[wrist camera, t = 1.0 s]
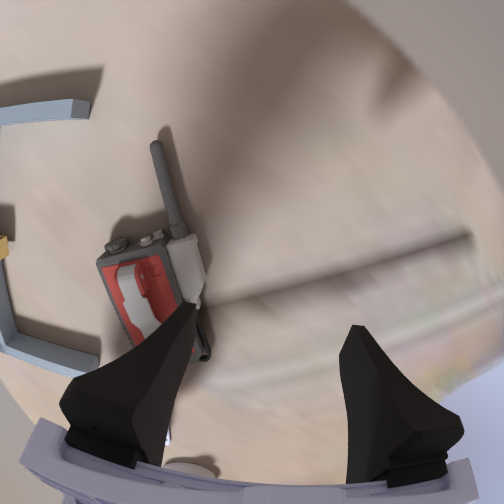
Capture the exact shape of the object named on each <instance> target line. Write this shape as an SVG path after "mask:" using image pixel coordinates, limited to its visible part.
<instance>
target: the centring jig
mask: <svg viewBox="0 0 504 504" xmlns="http://www.w3.org/2000/svg"><path fill="white" fill-rule="evenodd" d="M90 104H91V102H89V101H84V100H78V99H63V100H53V101H44V102H36V103H28V104H21V105H15V106H9V107H3V108H0V126H3V125H11V124H20V123H30V122H41V121H55V120H75V119H89V112H90ZM0 351H1V352H2V353H5V354H7V355H10V356H12V357H14V358H17V359H19V360H22V361H25V362H27V363H30V364H33V365H35V366H38V367H41V368H44V369H46V370H49V371H52V372H55V373H58V374H61V375H65V376H68V377H71V378H74V377H77V376H80V375H83V374H86V373H88V372H91V371H94V370H96V369H98V368H99V360H98V356H96V355H92V354H88V353H84V352H80V351H77V350H73V349H69V348H66V347H62V346H59V345H56V344H52V343H49V342H46V341H43V340H40V339H36V338H33V337H30V336H27V335H24V334H22V333H19V332H18V331H17V328H16V324H15V321H14V317H13V313H12V309H11V305H10V301H9V296H8V292H7V287H6V282H5V277H4V271H3V266H2V260H0Z"/></svg>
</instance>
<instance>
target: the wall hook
mask: <svg viewBox="0 0 504 504" xmlns="http://www.w3.org/2000/svg"><path fill="white" fill-rule="evenodd" d="M163 468H166V469H170V470H175V471H179V472H184V473H189V474H194V475H199V476H205V477H211V478H216V477H215V474H214V473H213V472H212V471H210V470H209V469H207V468H204V467H202V466H199V465H195V464H190V463H169V464H166V465H165V466H163Z"/></svg>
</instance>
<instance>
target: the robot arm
mask: <svg viewBox="0 0 504 504" xmlns="http://www.w3.org/2000/svg"><path fill="white" fill-rule="evenodd" d="M196 305H197V304H196V303H190V302H184V301H183V302H182V303H181V304H180V305H179V306H178V307H177V308H176V309H175V311H174V312H173V313H172V314H171V315H170V316H169V317H168V318H167V319H166V320H165V321H164V322H163V323H162V324H161V325H160V326H159V327H158V328H157V329H156V330H155V331H154V332H153V333H151V334H150V335H149V336H148V337H147V338H146V339H145V340H143V341H142V342H141V343H140V344H138V345H137V346H136V347H134V348H133V349H131V350H130V351H129V352H127V353H125V354H124V355H122V356H121V357H119V358H118V359H116V360H114V361H112V362H110V363H108V364H106V365H104V366H102V367H100V368H98V369H96V370H94V371H91V372H88V373H86V374H83V375H80V376H77V377H74V378H73V380H72V381H71V383H70V384H69V385H68V387H67V389H66V390H65V392H64V394H63V396H62V398H61V400H60V402H59V406H60V408H61V410H62V412H63V414H64V415H65V417H66V419H67V420H68V422H69V423H70V425H71V426H70V428H69V431H67V430H66V429H64V428H63V427H61V426H59V425H57V424H55V423H53V422H51V421H48V420H46V419H44V418H40V419H39V421H38V422H37V424H36V426H35V428H34V430H33V432H32V434H31V436H30V438H29V440H28V443H27V444H26V446H25V448H24V450H23V453H22V455H21V457H20V459H19V462H20V463H21V464H22V465H23V466H24V467H25V468H27V469H28V470H29V471H30V472H31V473H33V474H34V475H35V476H36V477H37V478H39V479H40V480H41V481H42V482H44V483H46V484H48V485H49V486H51V487H53V488H55V489H57V490H60V491H61V492H63V494H64V496H63V499H62V502H61V504H471V503H473V502H475V501H476V500H478V499H479V495H478V490H477V486H476V482H475V478H474V475H473V471H472V468H471V464H470V461H469V459H468V458H465V459H462V460H458V461H454V462H451V463H449V464H447V465H446V462H445V460H446V459H447V458H448V454H447V451H448V450H449V449H450V448H451V447H452V446H454V445H455V444H456V443H457V442H458V441H459V440H460V439H461V438H462V436H463V435H464V428H463V425H462V422H461V419H460V417H459V416H458V415H456V414H454V413H453V412H451V411H449V410H447V409H445V408H444V407H442V406H441V405H439V404H438V403H436V402H435V401H433V400H432V399H431V398H429V397H428V396H427V395H425V394H424V393H423V392H422V391H420V390H419V389H418V388H417V387H416V386H415V385H414V384H412V383H411V382H410V381H409V380H408V379H407V378H406V377H405V376H404V375H403V374H402V373H401V372H400V370H399V369H398V368H397V367H396V366H395V365H394V364H393V362H392V361H391V360H390V359H389V358H388V356H387V355H386V354H385V352H384V351H383V350H382V349H381V347H380V346H379V345H378V343H377V342H376V341H375V339H374V338H373V337H372V335H371V334H370V333H369V331H368V330H367V329H366V328H365V326H360V325H352V327H351V329H350V331H349V334H348V336H347V338H346V340H345V343H344V345H343V347H342V349H341V351H340V354H339V366H340V377H341V382H342V388H343V393H344V399H345V405H346V410H347V418H348V465H347V477H346V484H341V485H276V484H261V483H250V482H240V481H232V480H224V479H217V478H211V477H205V476H199V475H194V474H189V473H184V472H179V471H175V470H170V469H166V468H162V467H161V464H162V458H163V453H164V447H165V445H170V432H169V423H170V418H171V414H172V410H173V406H174V401H175V398H176V395H177V392H178V389H179V386H180V384H181V381H182V378H183V376H184V373H185V370H186V367H187V365H188V362H189V359H190V357H191V353H192V349H193V345H194V341H195V337H196Z"/></svg>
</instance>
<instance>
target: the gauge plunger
mask: <svg viewBox="0 0 504 504" xmlns="http://www.w3.org/2000/svg"><path fill="white" fill-rule="evenodd" d="M8 255H9V251H8V243H7V236H3V235H0V260H2V259H3V258H5V257H6V256H8Z"/></svg>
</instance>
